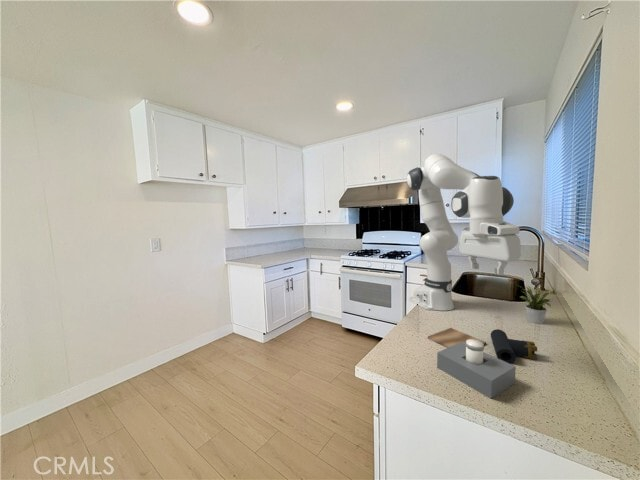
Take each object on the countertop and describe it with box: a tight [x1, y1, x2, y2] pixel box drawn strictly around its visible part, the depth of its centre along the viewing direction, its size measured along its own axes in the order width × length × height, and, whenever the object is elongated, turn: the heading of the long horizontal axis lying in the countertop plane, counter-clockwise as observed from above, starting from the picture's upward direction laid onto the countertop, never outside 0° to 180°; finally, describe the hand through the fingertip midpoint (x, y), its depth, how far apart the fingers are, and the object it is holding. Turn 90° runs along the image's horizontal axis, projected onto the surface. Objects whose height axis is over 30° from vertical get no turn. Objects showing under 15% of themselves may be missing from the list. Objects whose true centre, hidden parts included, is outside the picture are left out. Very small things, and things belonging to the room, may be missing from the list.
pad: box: [427, 327, 487, 349], centre depth 96 cm, size 14×14×1 cm
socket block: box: [436, 342, 517, 399], centre depth 76 cm, size 16×12×5 cm
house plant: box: [516, 285, 554, 325], centre depth 110 cm, size 14×14×16 cm
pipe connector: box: [490, 328, 538, 365], centre depth 87 cm, size 12×5×15 cm
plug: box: [466, 339, 485, 366], centre depth 76 cm, size 4×4×10 cm
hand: (486, 271), depth 81 cm, fingers open, 8 cm apart
